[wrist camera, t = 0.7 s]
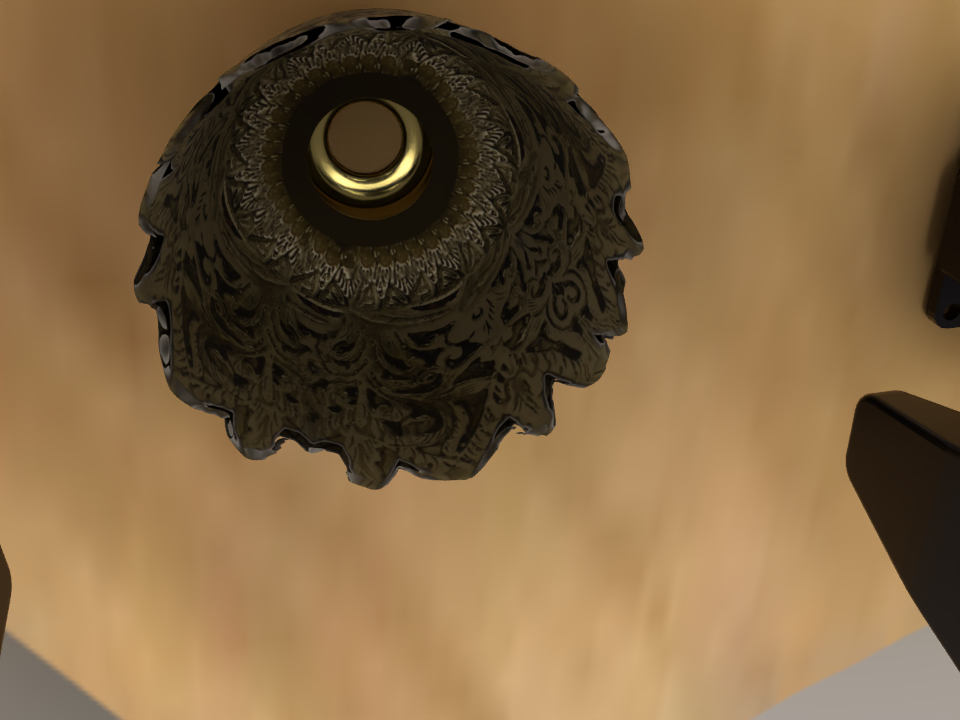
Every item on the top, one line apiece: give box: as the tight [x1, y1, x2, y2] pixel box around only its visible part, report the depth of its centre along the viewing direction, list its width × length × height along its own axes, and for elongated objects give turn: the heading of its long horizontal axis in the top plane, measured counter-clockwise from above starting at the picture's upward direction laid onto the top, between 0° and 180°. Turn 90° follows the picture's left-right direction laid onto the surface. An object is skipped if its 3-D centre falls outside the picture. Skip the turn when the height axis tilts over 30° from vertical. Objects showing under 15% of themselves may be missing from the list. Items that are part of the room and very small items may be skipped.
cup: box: [134, 9, 644, 490], centre depth 17 cm, size 8×7×8 cm
